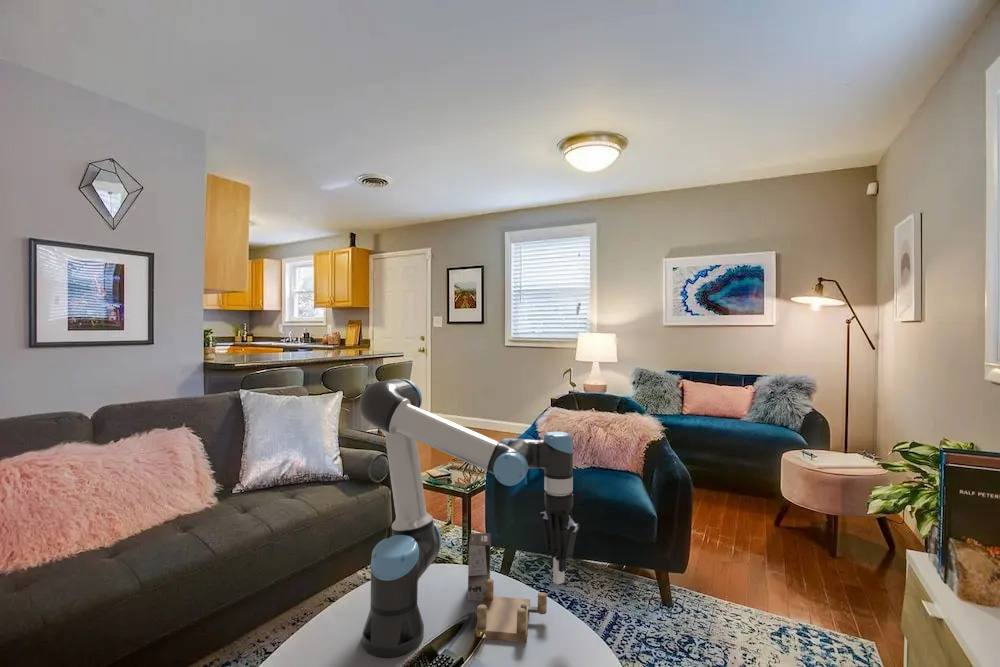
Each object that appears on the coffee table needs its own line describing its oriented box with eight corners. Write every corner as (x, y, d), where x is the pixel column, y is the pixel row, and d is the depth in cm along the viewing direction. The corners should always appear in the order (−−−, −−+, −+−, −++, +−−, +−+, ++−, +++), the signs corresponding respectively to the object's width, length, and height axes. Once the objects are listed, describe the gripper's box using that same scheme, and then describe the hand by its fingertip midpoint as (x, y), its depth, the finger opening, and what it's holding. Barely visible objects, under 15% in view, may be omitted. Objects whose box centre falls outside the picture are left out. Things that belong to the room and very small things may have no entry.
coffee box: (489, 601, 134) (490, 545, 134) (467, 601, 134) (468, 544, 134) (490, 585, 143) (491, 532, 143) (469, 584, 143) (470, 532, 143)
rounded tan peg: (527, 613, 124) (528, 595, 124) (528, 608, 126) (528, 591, 126) (546, 614, 123) (546, 597, 123) (546, 609, 126) (546, 592, 126)
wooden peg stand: (475, 637, 117) (475, 609, 117) (484, 602, 133) (485, 578, 133) (526, 642, 116) (526, 614, 116) (529, 606, 131) (530, 581, 132)
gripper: (587, 495, 119) (587, 587, 119) (551, 483, 129) (551, 568, 129) (566, 501, 114) (567, 597, 114) (531, 488, 125) (531, 576, 124)
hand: (558, 581), depth 121 cm, fingers closed
